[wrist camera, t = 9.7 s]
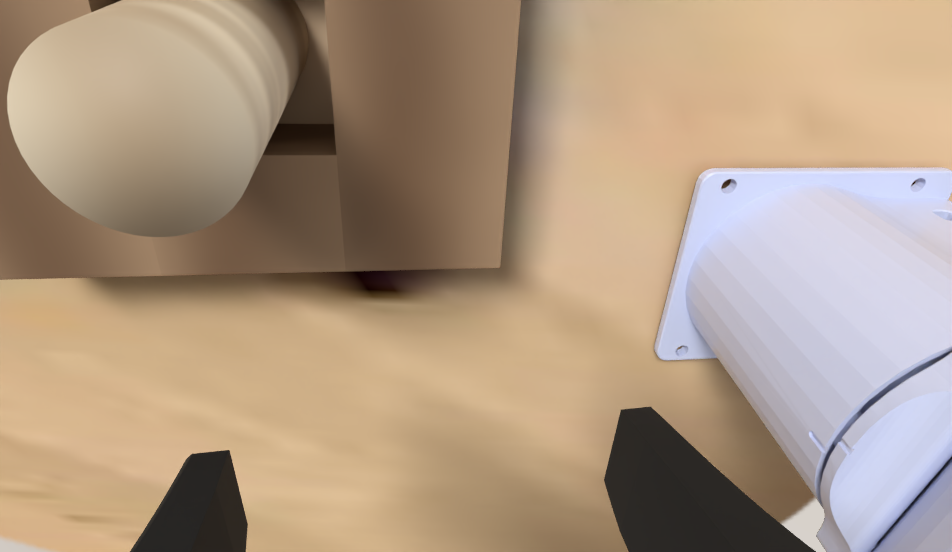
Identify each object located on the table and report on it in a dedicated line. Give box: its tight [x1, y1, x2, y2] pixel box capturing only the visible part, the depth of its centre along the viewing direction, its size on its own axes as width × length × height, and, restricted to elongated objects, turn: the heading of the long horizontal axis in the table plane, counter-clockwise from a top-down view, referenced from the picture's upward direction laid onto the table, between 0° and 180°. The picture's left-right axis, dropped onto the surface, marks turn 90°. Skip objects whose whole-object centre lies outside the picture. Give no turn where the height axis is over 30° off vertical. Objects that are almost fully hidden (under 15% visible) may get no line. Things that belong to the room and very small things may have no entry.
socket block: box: [0, 0, 521, 280], centre depth 15 cm, size 14×12×3 cm
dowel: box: [7, 0, 309, 237], centre depth 13 cm, size 4×4×8 cm
